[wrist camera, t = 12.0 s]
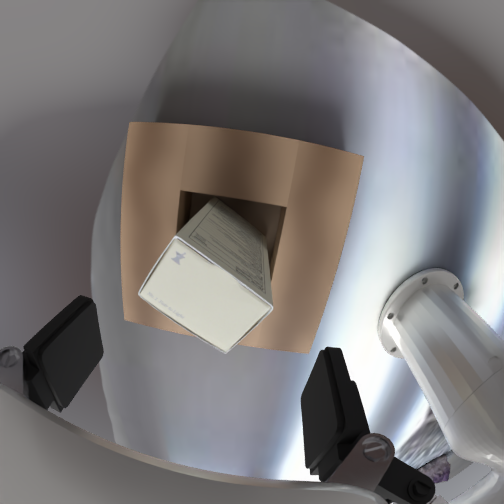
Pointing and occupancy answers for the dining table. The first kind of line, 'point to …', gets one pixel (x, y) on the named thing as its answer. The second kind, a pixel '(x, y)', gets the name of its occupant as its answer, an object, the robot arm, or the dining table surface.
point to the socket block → (248, 207)
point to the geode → (437, 469)
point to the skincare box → (213, 277)
